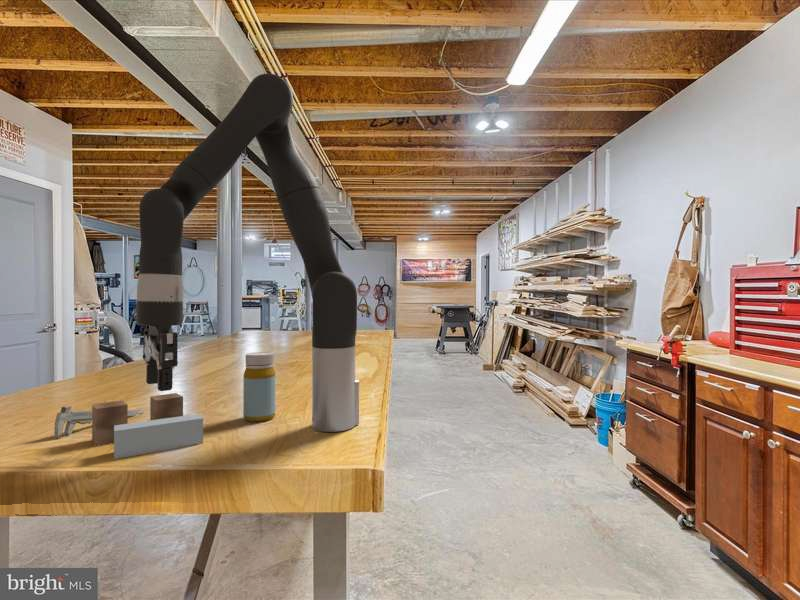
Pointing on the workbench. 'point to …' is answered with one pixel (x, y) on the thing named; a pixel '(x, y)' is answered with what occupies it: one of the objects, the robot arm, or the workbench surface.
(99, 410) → the pillar
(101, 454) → the workbench surface
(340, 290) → the robot arm
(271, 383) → the bottle
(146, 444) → the lintel
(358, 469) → the workbench surface
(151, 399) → the pillar
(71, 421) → the caliper
